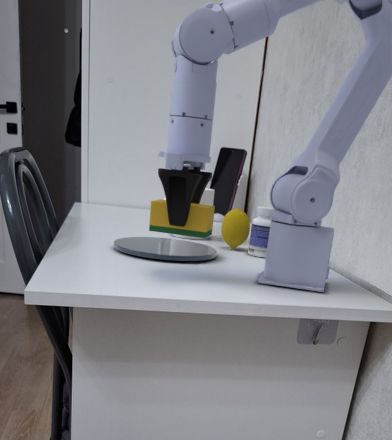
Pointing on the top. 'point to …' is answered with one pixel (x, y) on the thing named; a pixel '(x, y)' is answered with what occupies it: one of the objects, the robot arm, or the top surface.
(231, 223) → the lemon
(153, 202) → the sponge
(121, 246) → the plate
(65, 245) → the top surface
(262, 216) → the pill bottle
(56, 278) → the top surface
